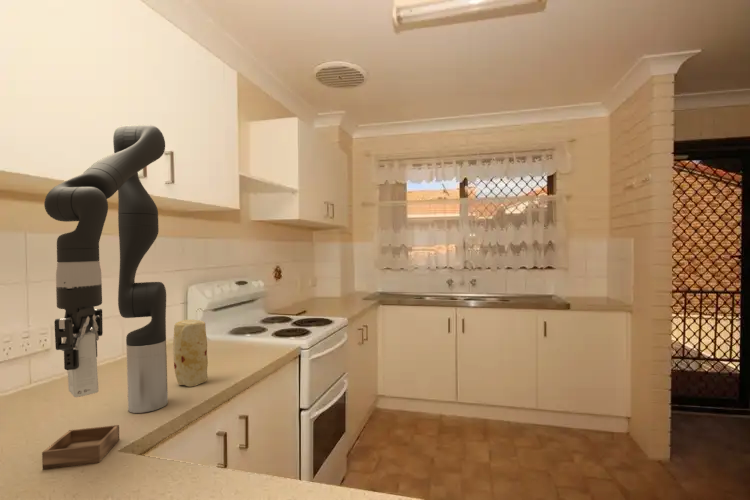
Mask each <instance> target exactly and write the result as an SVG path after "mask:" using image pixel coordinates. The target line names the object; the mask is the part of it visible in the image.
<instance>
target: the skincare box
mask: <svg viewBox="0 0 750 500" xmlns="http://www.w3.org/2000/svg"><path fill="white" fill-rule="evenodd" d="M73 343H74V339H73ZM77 350H79V367H78V368H77V369H75V370H66V371H67V382H68V383H67V384H68V392H69V393H70V394H71V395H72V396H73V397H74V398H80V397H85V396H91V395H93V394H97V393H98V392H99V376H98V373H99V372H98V354H97V355H96V341H95V334H93V333H91V332H85V334H84V338H83V339H81V340H80V343H79V347H78V349H77Z"/></svg>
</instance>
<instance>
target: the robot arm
mask: <svg viewBox="0 0 750 500" xmlns="http://www.w3.org/2000/svg"><path fill="white" fill-rule="evenodd" d="M112 142H113V152H114V153H112V154H110V155H107V156H105V157H102V158H100V159H98V160H97V161H96V162H94V163H93V164H91V166H89V168H87V169H86V170H85V171H84V172H83V173H81V174H79V175H77V176H74V177H72V178H69V179H68V180H65V181H62V182H61V183H59V184H57V185H56V186H54V187H52V189H50V190H49V191H48V193H47V194H46V196H45V199H44V206H43V207H44V209H45V212H46V214H47V215H48V216H49V217H50V218H52V219H53V220H56V221H58V222H64V223H65V222H66V223H67V222H78V223H77V225H76V227H75V229H74V230H72V231H69V232H66V233H62V234H60V235H58V236H57V239H56V272H55V286H56V287H55V288H56V289H55V290H56V293H55V295H56V307H57V309H60V310H64V311H65V312H64V317H62V318H55V320H54V323H53V324H54V339H55V340H54V343H55V350H56V351H61V352H63V362H64V363H63V365H64V367H63V368H64V370H66V371H67V370H75V369H77V368H78V367H79V350H77V349H78V347H79V343H80V340H81V339H83V338H84V334H85V332H91V333H93V334H95V341H96V355H97V356H98V341H99V339H100V337H102V336H103V333H104V332H103V331H104V330H103V327H104V326H103V308H95V307H99V306H101V305H102V303H103V288H102V285H103V283H102V282H103V281H102V269H101V265H100V264H101V262H100V242H101V241H100V239H101V236H102V233H103V229H104V225H105V222H106V219H107V216H108V211H109V202H108V199H110V198H111V197H113V196H114V194H116V193H117V198H118V201H117V202H118V203H117V205H118V208H117V209H118V211H117V215H118V217H117V221H118V222H117V223H118V225H117V226H118V240H119V273H118V274H119V275H118V288H117V289H118V290H117V294H118V295H117V305H118V312H119V314H120V316H121V317H122V318H124V319H134V318H148V317H151V320H150V322H148V324H146V325H144V326H142V327H140V328H137V329H134V330H132V331H130V332H129V333H127V334H126V336H125V337H126V339H125V340H126V341H125V344H126V374H127V409H128V410H127V411H128V412H129V413H132V414H133V413H134V414H141V413H143V414H144V413H149V412H153V411H157V410H160V409H161V408H163V407H166V406H167V405H168V402H169V397H168V396H169V394H168V393H169V391H168V363H167V362H168V361H167V359H168V358H167V357H168V355H167V325H166V324H167V320H166V317H167V289H166V286H165V284H164V282H161V281H150V282H149V281H145V282H135V279H136V274H137V270H138V268H139V265H140V264H141V263H142V260H143V258H144V257H145V255H146V254H147V253H148V251H149V249H150V248H151V247H152V246H153V244H154V242H155V241H156V239H157V237H158V235H159V229H160V228H159V211H158V210H159V209H158V207H157V204H156V203H155V201H154V199H153V198H152V197H151V196H150V194H149V192H148V191H147V190H146V188H145V187H144V185H143V183H142V181H141V180H140V177H139V174H138V172H140V171H141V170H144V168H146V167H148V166H149V165H151V164H152V163H154V162H157V160H159V159H160V158H161V157H162V156H163V155H164V153H165V151H166V141H165V136H164V134H163V133H162V131H161V130H160V129H159V128H158V127H157V126H155V125H152V124H127V125H126V124H125V125H119V126H117V127H116V129H115V130H114V133H113V141H112ZM73 339H74V343H73Z"/></svg>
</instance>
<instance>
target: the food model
mask: <svg viewBox="0 0 750 500" xmlns="http://www.w3.org/2000/svg"><path fill="white" fill-rule="evenodd" d="M207 338H208V337H207V330H206V321H203V320H201V319H199V320H198V319H182V320H180V321H178V322H176V323H174V327H173V348H172V349H173V350H172V354H173V368H174V374H175V378H176V382H177V383H178V385H180V386H186V387H188V388H189V387H190V388H192V387H195V386H198V385H200V384H202V383H205V382H207V380H208V378H209V377H208V376H209V375H208V367H209V365H208V364H209V362H208V358H209V357H208V339H207Z"/></svg>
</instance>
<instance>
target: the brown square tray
mask: <svg viewBox="0 0 750 500" xmlns="http://www.w3.org/2000/svg"><path fill="white" fill-rule="evenodd" d="M119 441H120V425H119V424H116V425H115V424H114V425H106V426H105V425H104V426H96V427H89V428H88V427H87V428H79V429H69V430H68V431H66V432H65V433H64V434H63V435H62V436H60V437H59V438H58V439H57V440H56V441H54V442H53V443H51V444H50V445H49V446H48V447H47V448H46V449H44V450H43V451H42V452H41V458H42V459H41V461H42V462H41V463H42V470H50V469H59V468H66V467H67V468H68V467H74V466H82V465H90V464H92V465H93V464H99V463H100V462H101V461H102V459H104V458H105V456H107V455H108V453H109V452H110V451H111V450H112V449H113V447H114V446H115V445H117V443H118V442H119Z"/></svg>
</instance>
